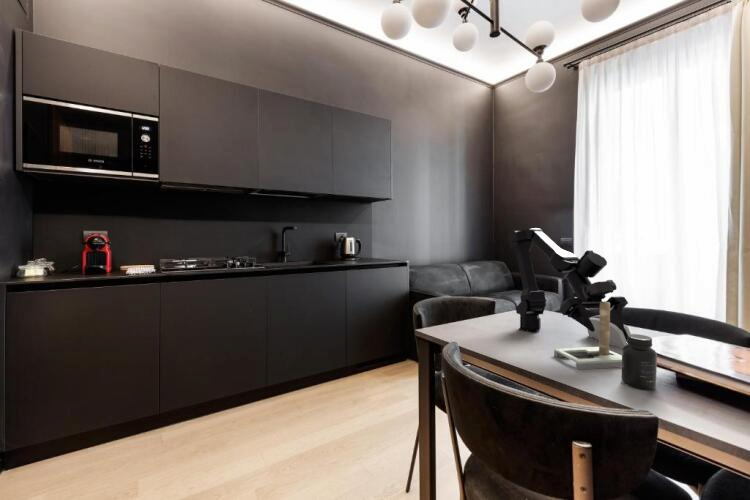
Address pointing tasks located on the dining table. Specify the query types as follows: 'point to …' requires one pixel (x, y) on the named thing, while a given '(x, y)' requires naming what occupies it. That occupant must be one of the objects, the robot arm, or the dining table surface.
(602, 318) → the peg
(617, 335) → the grey curved piece
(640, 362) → the supplement bottle
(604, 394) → the dining table surface
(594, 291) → the robot arm
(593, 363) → the keyhole board
